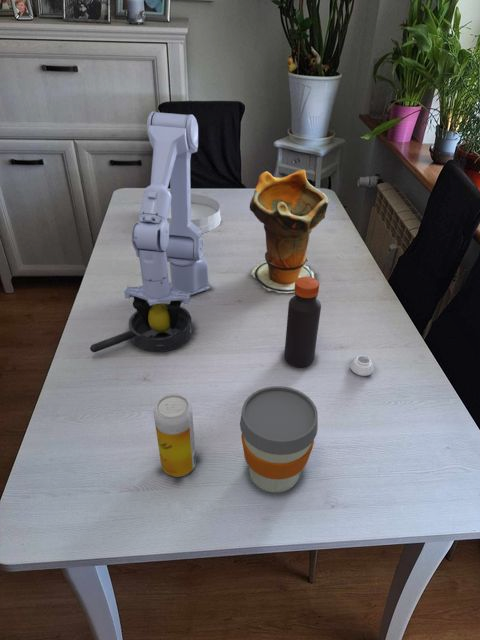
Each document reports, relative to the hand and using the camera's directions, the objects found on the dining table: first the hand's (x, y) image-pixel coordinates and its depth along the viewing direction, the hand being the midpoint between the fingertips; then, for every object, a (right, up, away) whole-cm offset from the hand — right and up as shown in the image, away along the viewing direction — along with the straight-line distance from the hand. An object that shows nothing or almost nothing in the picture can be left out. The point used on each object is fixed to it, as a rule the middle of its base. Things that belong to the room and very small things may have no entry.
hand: (160, 325), depth 114 cm
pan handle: (-9, -5, -6) cm, 12 cm away
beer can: (+9, -26, -28) cm, 40 cm away
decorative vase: (+30, +14, +24) cm, 41 cm away
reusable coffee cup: (+26, -27, -28) cm, 47 cm away
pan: (0, -2, +1) cm, 2 cm away
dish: (-1, +38, +51) cm, 64 cm away
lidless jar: (+46, -10, -6) cm, 48 cm away
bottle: (+32, -8, -4) cm, 33 cm away
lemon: (0, -2, +1) cm, 2 cm away
